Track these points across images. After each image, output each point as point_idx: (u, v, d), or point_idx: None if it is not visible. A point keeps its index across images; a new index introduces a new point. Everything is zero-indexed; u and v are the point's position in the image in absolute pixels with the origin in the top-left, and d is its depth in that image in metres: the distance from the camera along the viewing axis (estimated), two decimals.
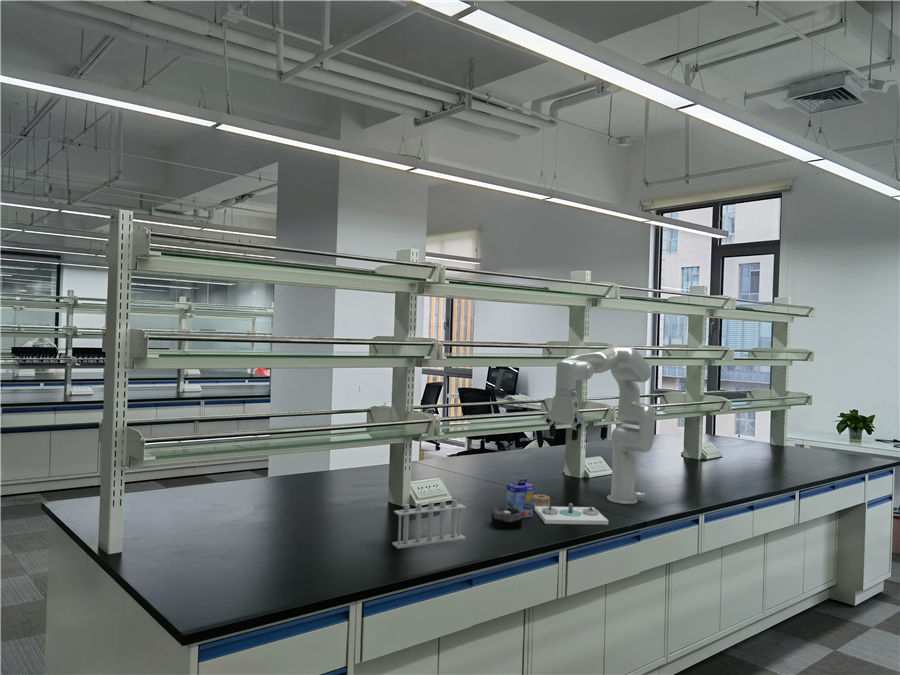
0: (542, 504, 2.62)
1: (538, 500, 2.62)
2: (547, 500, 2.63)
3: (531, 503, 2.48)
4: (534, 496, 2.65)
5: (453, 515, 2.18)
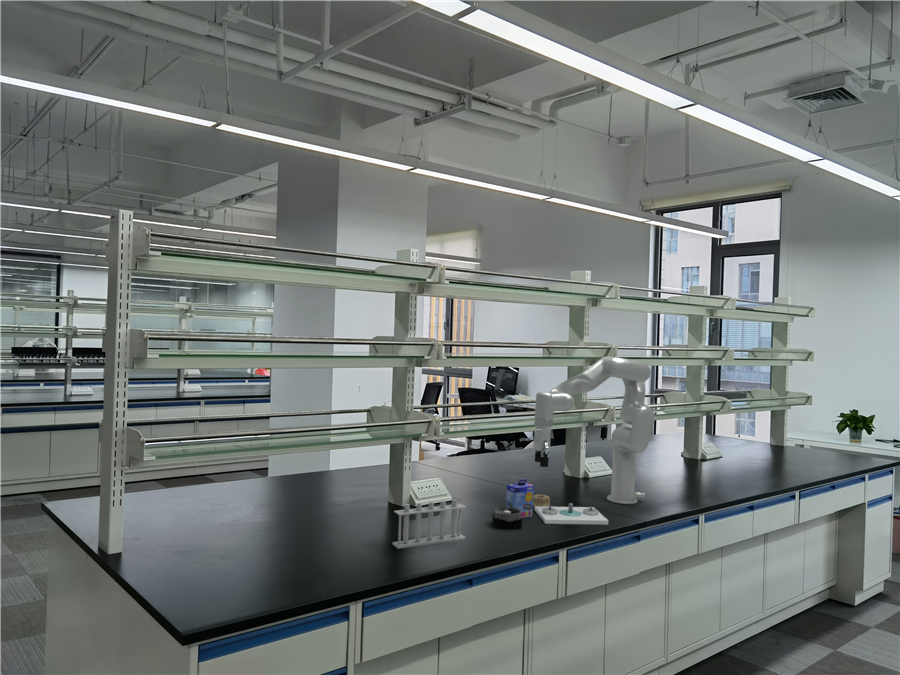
0: (542, 504, 2.62)
1: (538, 500, 2.62)
2: (547, 500, 2.63)
3: (531, 503, 2.48)
4: (534, 496, 2.65)
5: (453, 515, 2.18)
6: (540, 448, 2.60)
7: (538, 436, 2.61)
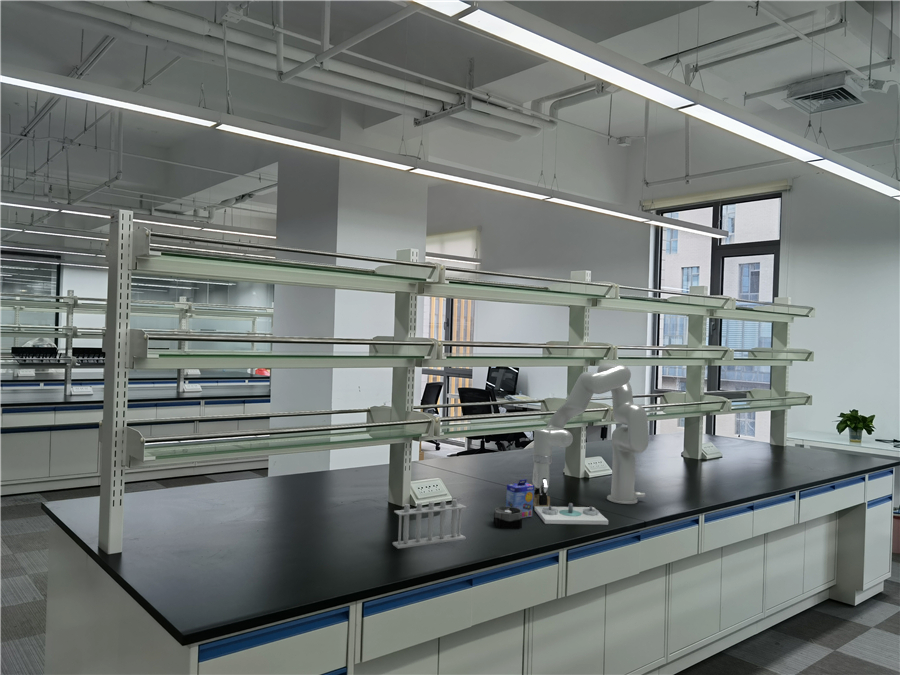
0: None
1: (538, 500, 2.62)
2: (547, 500, 2.63)
3: (531, 503, 2.48)
4: (534, 496, 2.65)
5: (453, 515, 2.18)
6: (539, 485, 2.60)
7: (537, 473, 2.62)
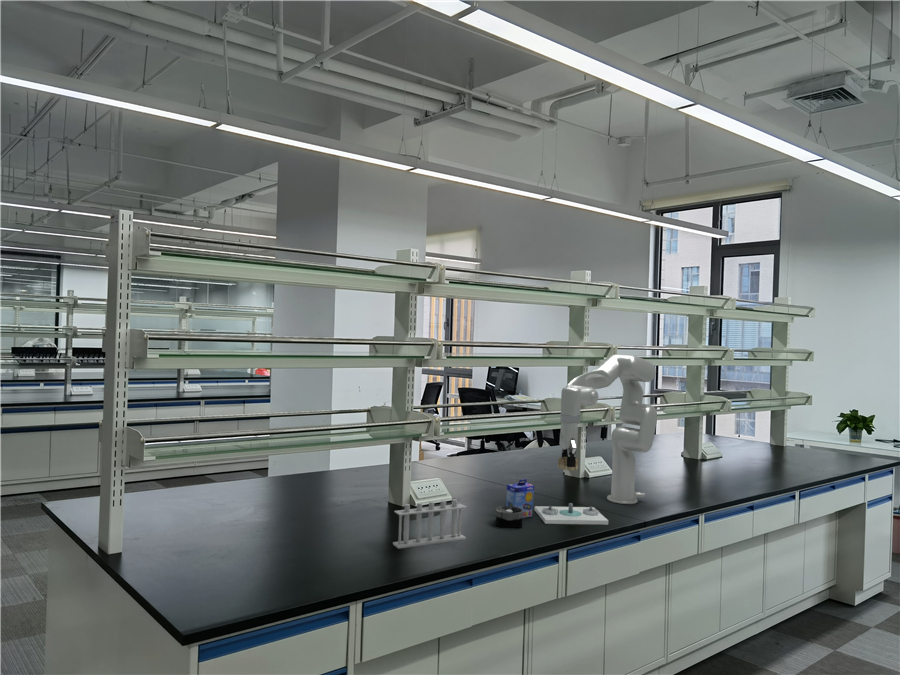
0: None
1: (566, 462, 2.49)
2: (575, 462, 2.49)
3: (531, 503, 2.48)
4: (561, 458, 2.52)
5: (453, 515, 2.18)
6: (567, 446, 2.47)
7: (564, 434, 2.48)
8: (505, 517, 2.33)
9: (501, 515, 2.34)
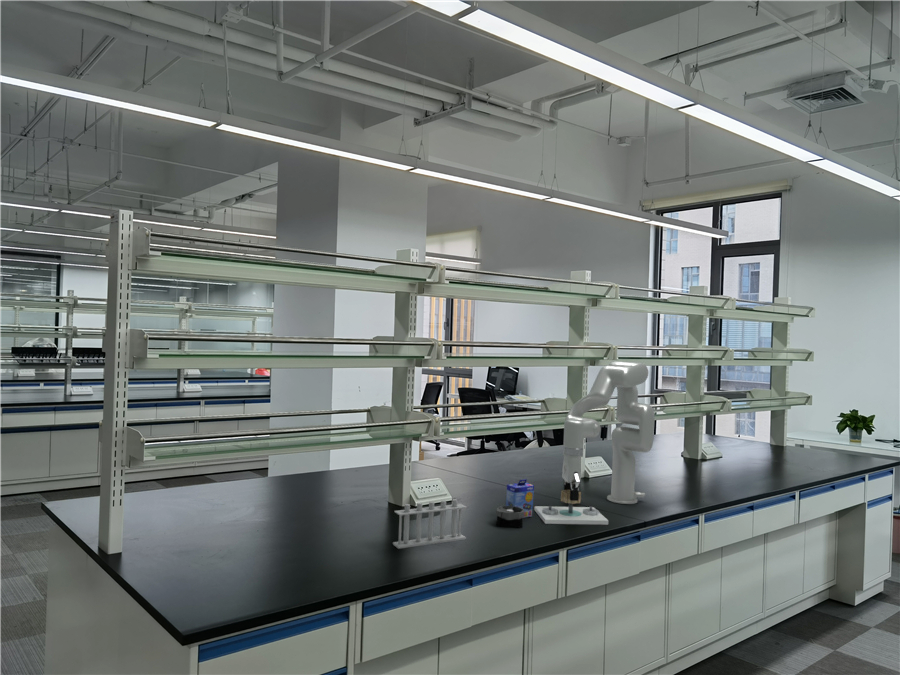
0: None
1: (569, 495, 2.47)
2: None
3: (531, 503, 2.48)
4: (564, 491, 2.50)
5: (453, 515, 2.18)
6: (570, 480, 2.45)
7: (568, 467, 2.46)
8: (505, 517, 2.34)
9: (501, 515, 2.34)
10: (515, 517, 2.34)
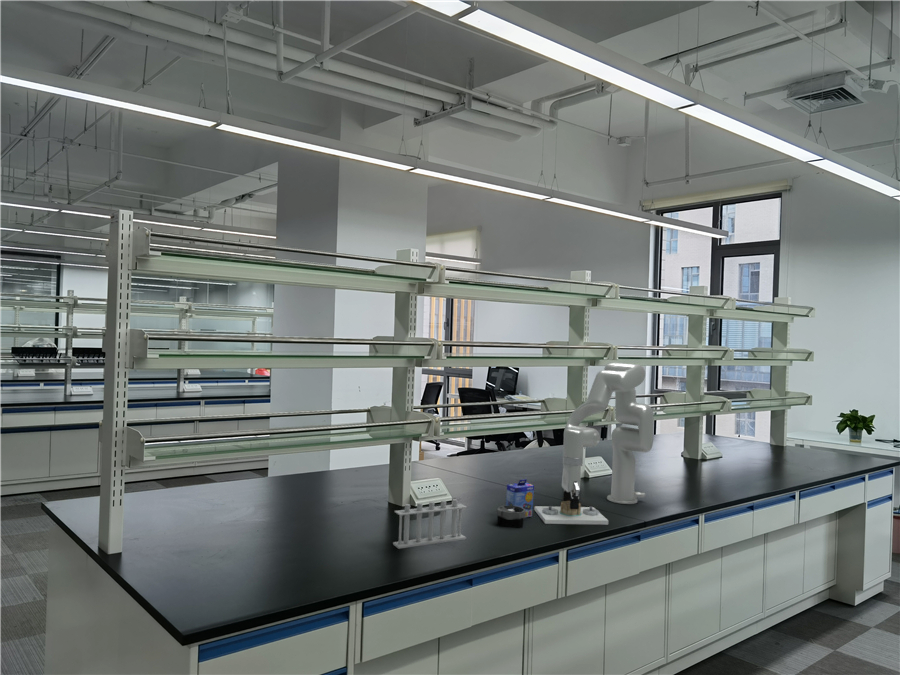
0: (573, 511, 2.46)
1: (568, 507, 2.47)
2: None
3: (531, 503, 2.48)
4: (564, 503, 2.50)
5: (453, 515, 2.18)
6: (570, 489, 2.45)
7: (567, 476, 2.46)
8: (505, 516, 2.34)
9: (501, 514, 2.35)
10: (515, 517, 2.34)
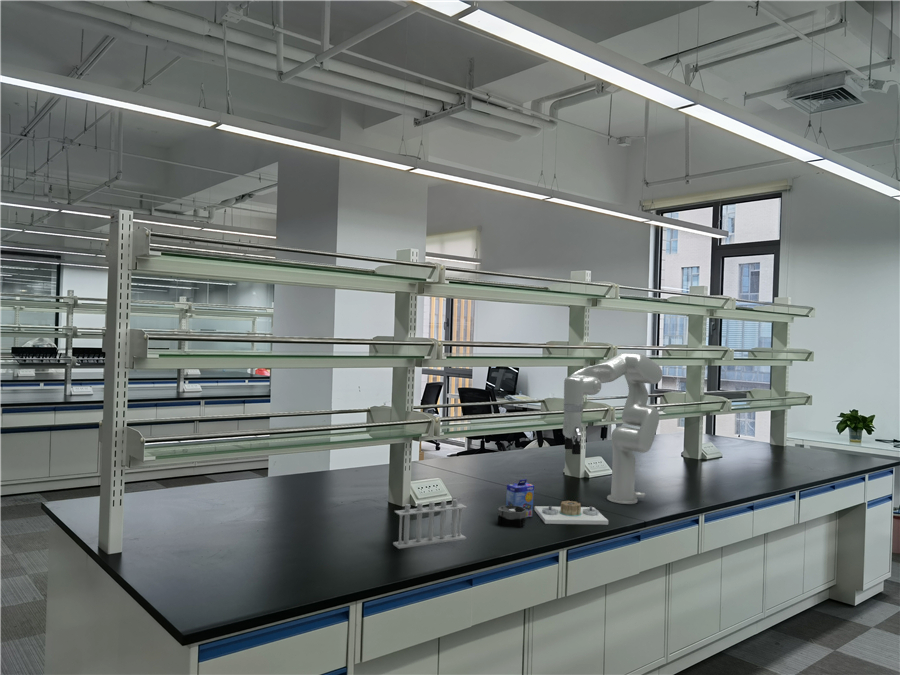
0: (573, 511, 2.46)
1: (568, 507, 2.47)
2: (578, 507, 2.48)
3: (531, 503, 2.48)
4: (564, 503, 2.50)
5: (454, 515, 2.18)
6: (571, 435, 2.51)
7: (569, 423, 2.53)
8: (506, 516, 2.35)
9: (502, 514, 2.36)
10: (516, 517, 2.34)
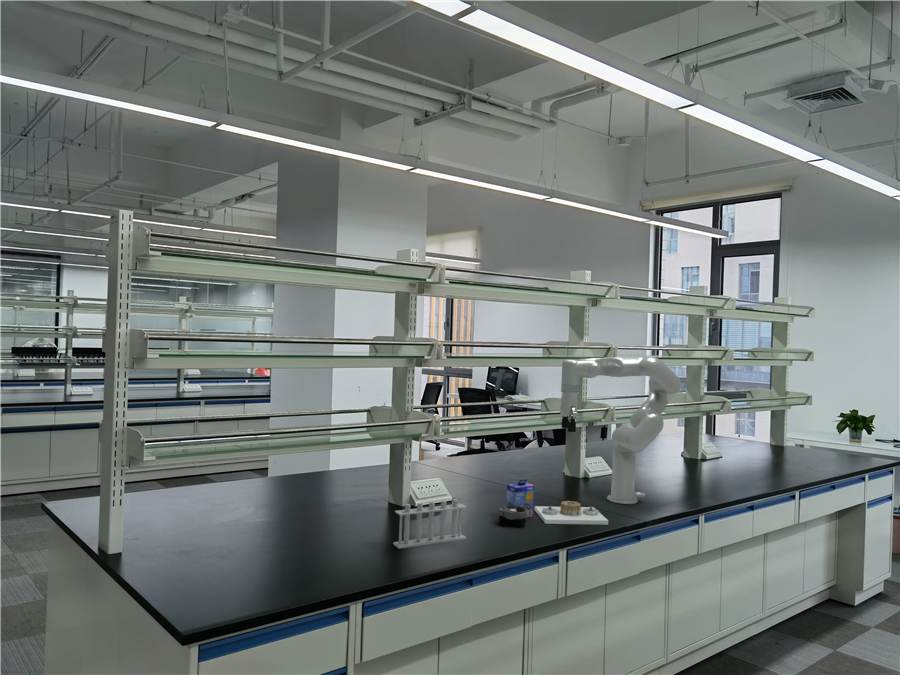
0: (573, 511, 2.46)
1: (568, 507, 2.47)
2: (578, 507, 2.48)
3: (531, 503, 2.48)
4: (564, 503, 2.50)
5: (454, 515, 2.18)
6: (567, 414, 2.67)
7: (565, 402, 2.68)
8: (507, 516, 2.35)
9: (503, 514, 2.36)
10: (517, 517, 2.34)
